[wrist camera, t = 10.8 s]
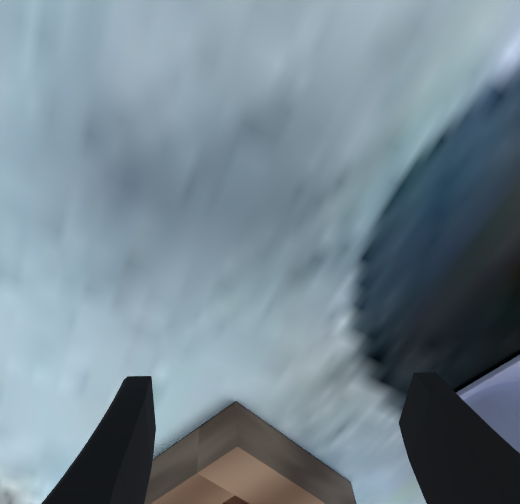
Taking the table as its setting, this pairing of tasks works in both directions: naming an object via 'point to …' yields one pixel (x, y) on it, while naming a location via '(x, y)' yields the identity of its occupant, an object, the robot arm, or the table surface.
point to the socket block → (242, 467)
